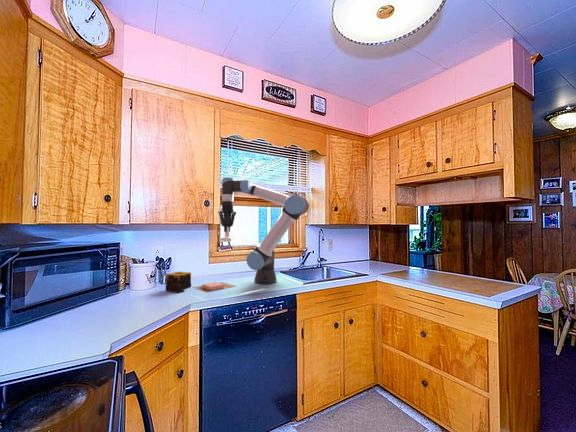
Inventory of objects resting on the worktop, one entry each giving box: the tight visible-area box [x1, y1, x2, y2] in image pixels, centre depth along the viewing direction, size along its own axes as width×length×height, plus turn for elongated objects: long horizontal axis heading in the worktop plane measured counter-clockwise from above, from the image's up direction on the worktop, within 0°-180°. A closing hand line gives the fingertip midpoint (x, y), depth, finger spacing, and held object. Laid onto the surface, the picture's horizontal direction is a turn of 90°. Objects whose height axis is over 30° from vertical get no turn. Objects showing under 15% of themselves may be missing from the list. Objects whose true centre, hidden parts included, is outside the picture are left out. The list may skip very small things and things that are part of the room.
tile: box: [201, 281, 224, 292], centre depth 155 cm, size 2×9×9 cm
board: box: [191, 281, 237, 294], centre depth 158 cm, size 21×16×1 cm
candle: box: [165, 271, 192, 294], centre depth 154 cm, size 10×10×10 cm
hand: (227, 236), depth 174 cm, fingers closed
